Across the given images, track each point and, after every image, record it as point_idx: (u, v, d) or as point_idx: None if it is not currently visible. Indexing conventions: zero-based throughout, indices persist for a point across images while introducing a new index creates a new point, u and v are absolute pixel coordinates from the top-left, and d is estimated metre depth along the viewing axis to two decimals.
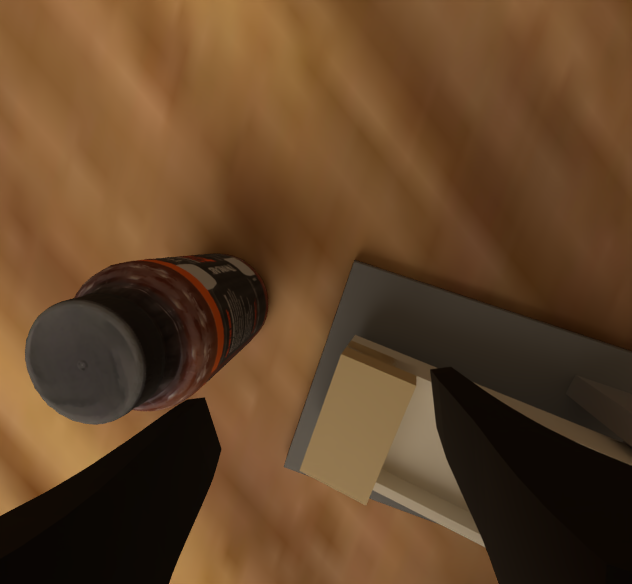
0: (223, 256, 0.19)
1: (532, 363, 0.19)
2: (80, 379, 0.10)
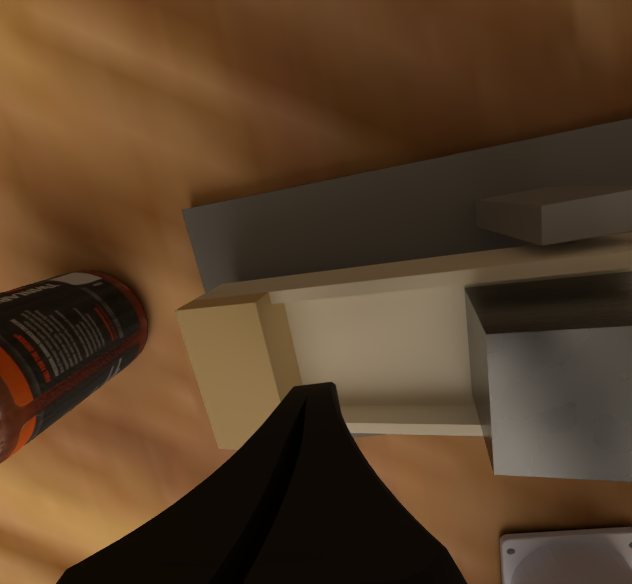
0: (54, 277, 0.17)
1: (422, 213, 0.16)
2: None
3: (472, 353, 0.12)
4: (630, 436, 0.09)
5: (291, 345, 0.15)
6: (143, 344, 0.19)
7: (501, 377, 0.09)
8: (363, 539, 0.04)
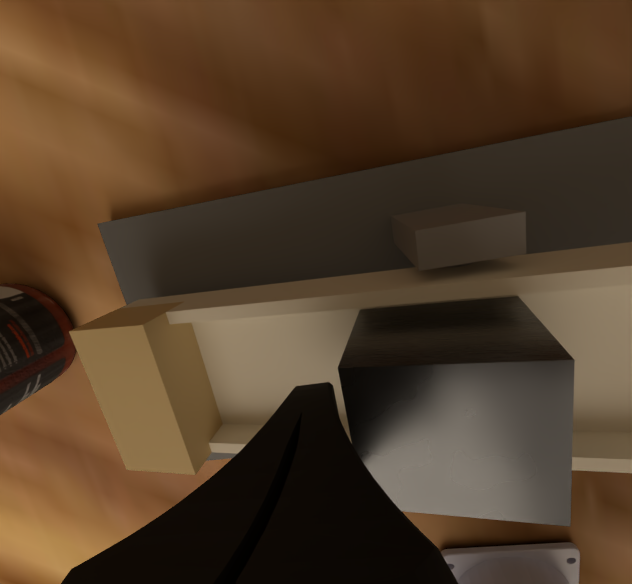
0: None
1: (338, 229, 0.15)
2: None
3: None
4: (484, 474, 0.08)
5: (200, 364, 0.15)
6: (70, 358, 0.19)
7: (357, 411, 0.09)
8: (356, 539, 0.04)
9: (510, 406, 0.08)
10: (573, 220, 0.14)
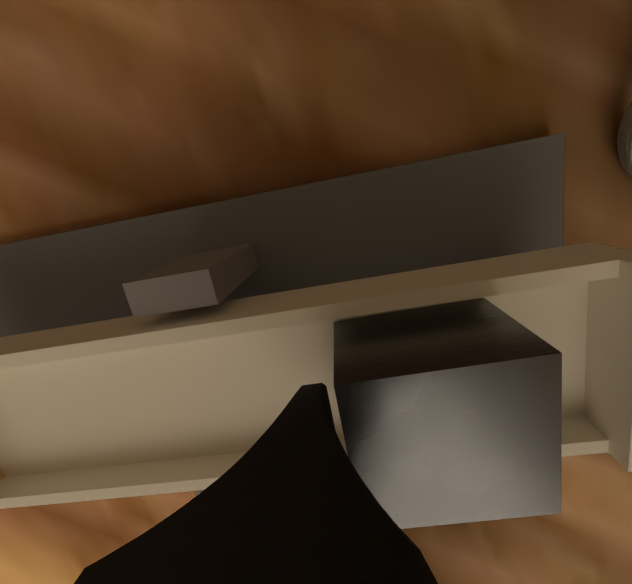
0: None
1: (148, 265, 0.17)
2: None
3: None
4: (483, 475, 0.08)
5: None
6: None
7: (355, 429, 0.08)
8: (340, 541, 0.04)
9: (506, 404, 0.08)
10: (353, 259, 0.16)
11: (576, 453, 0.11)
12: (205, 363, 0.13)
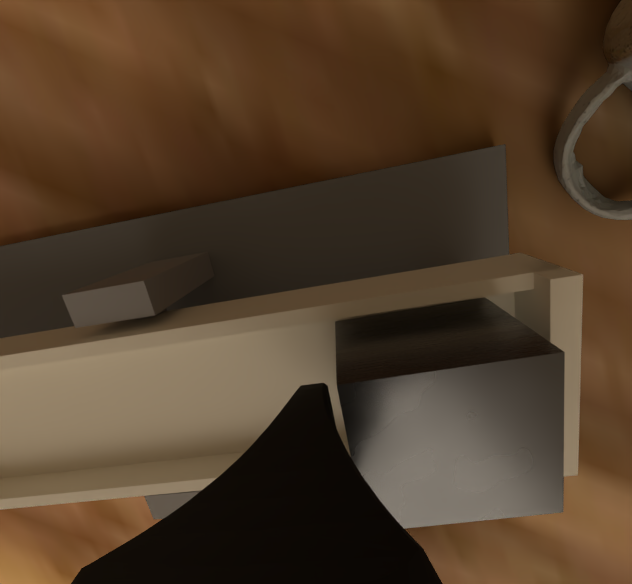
0: None
1: (107, 273, 0.17)
2: None
3: None
4: (485, 475, 0.08)
5: None
6: None
7: (358, 429, 0.08)
8: (343, 540, 0.04)
9: (509, 404, 0.08)
10: (306, 267, 0.16)
11: None
12: (150, 371, 0.13)
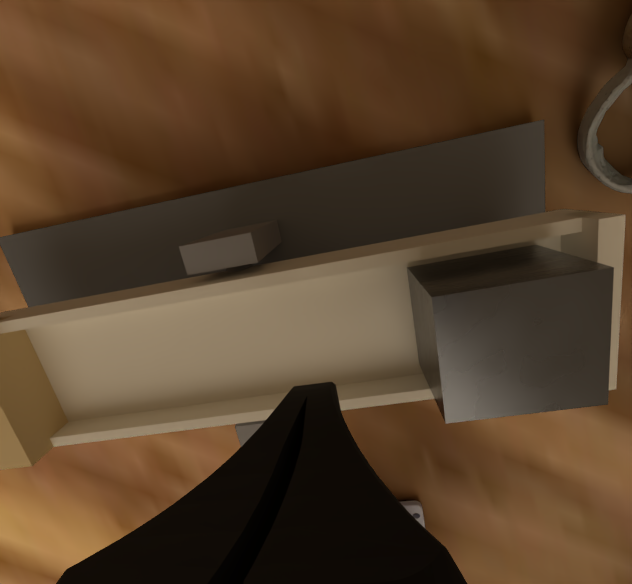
0: None
1: (185, 240, 0.19)
2: None
3: (418, 324, 0.14)
4: (546, 372, 0.11)
5: (38, 369, 0.16)
6: None
7: (446, 334, 0.10)
8: (363, 539, 0.04)
9: (568, 311, 0.10)
10: (364, 232, 0.18)
11: None
12: (243, 316, 0.15)
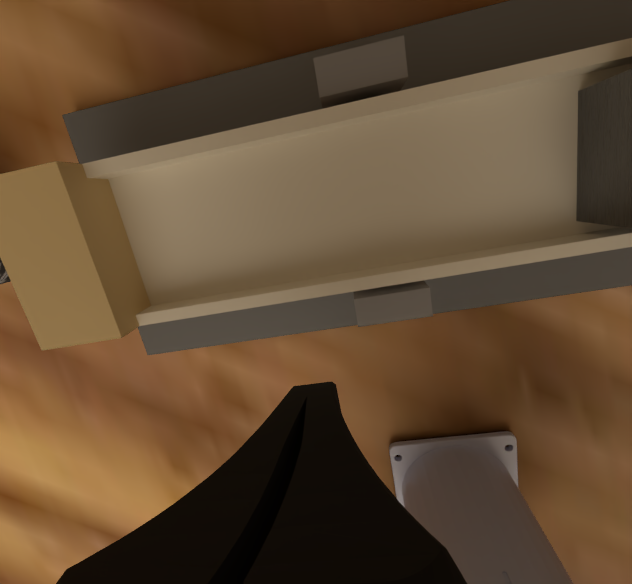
0: None
1: (277, 113, 0.17)
2: None
3: (598, 152, 0.11)
4: None
5: (123, 235, 0.14)
6: None
7: None
8: (363, 539, 0.04)
9: None
10: None
11: None
12: (372, 162, 0.13)
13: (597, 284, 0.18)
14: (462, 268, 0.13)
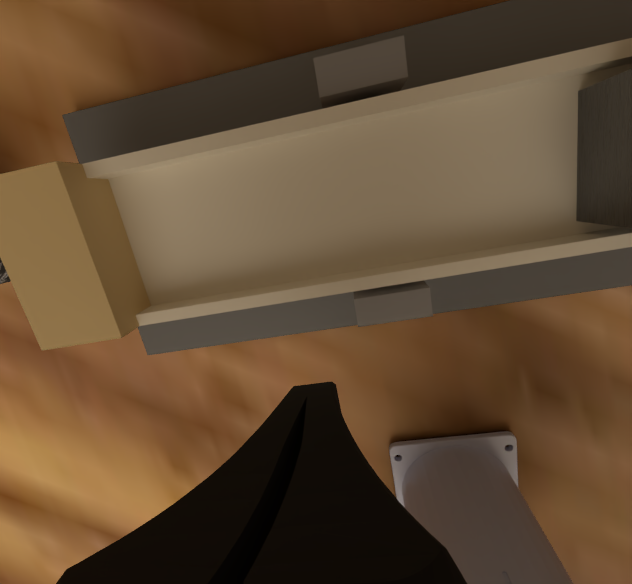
0: None
1: (277, 113, 0.17)
2: None
3: (598, 152, 0.11)
4: None
5: (123, 235, 0.14)
6: None
7: None
8: (363, 539, 0.04)
9: None
10: None
11: None
12: (372, 162, 0.13)
13: (597, 284, 0.18)
14: (462, 268, 0.13)
